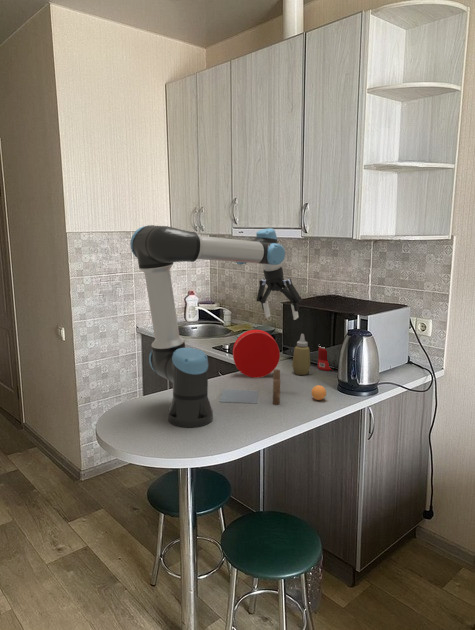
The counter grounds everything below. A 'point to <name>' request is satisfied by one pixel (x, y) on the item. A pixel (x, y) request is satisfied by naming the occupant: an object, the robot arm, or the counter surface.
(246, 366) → the red thick disc
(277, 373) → the far post
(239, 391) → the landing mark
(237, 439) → the counter surface
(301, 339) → the squeeze bottle
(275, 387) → the near post
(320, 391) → the ball
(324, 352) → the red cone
